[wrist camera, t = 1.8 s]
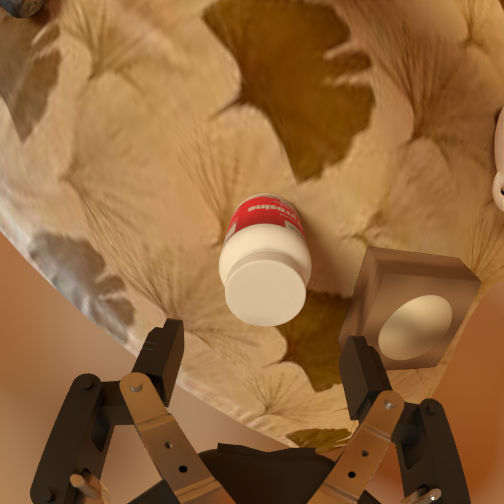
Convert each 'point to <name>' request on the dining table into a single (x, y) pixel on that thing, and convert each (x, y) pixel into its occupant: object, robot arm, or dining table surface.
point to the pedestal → (409, 305)
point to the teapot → (499, 162)
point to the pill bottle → (265, 261)
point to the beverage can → (22, 7)
